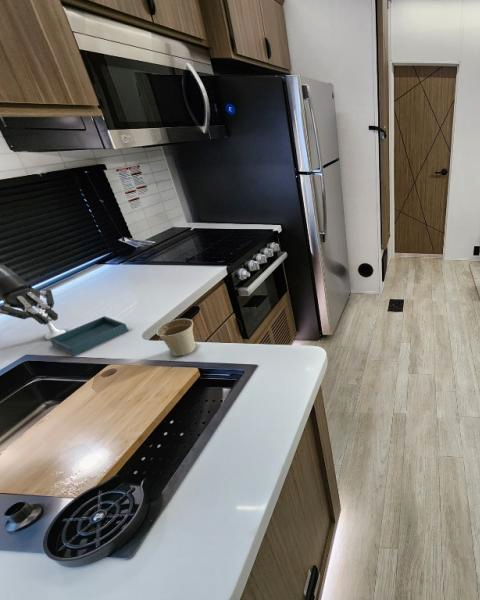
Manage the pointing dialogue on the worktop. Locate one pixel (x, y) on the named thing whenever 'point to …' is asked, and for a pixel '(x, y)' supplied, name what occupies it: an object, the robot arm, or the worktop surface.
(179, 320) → the flower pot
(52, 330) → the chess piece
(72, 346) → the tray
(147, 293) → the worktop surface
